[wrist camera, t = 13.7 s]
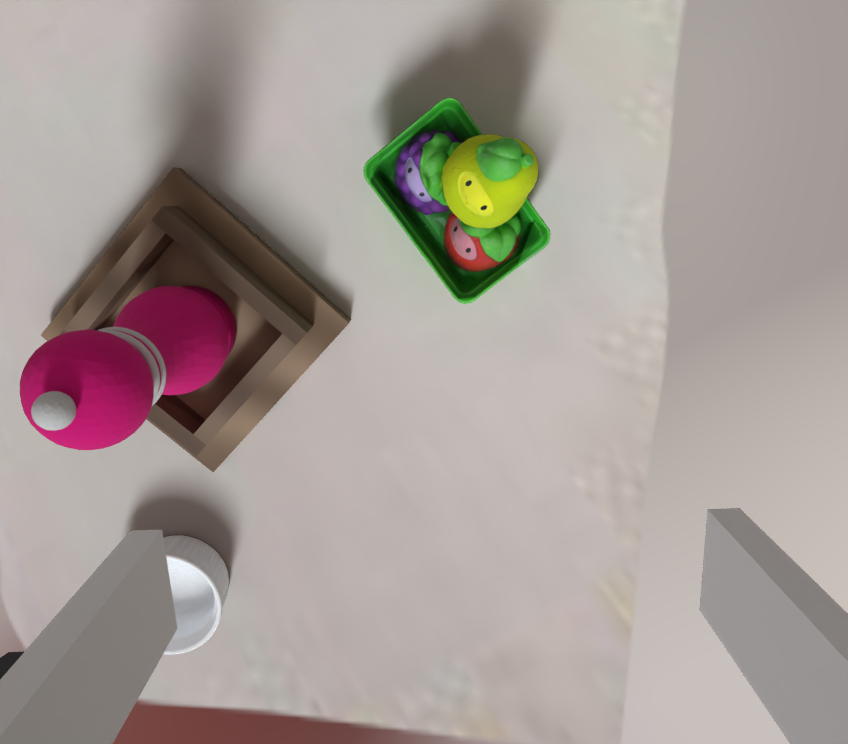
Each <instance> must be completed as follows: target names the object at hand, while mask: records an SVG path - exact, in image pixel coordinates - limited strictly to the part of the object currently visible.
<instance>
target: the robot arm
mask: <svg viewBox="0 0 848 744" xmlns="http://www.w3.org/2000/svg"><path fill="white" fill-rule="evenodd" d="M700 611H701V612H702V614H703V615H704V617H705V618H706V620H707V621H708V623H709V624H710V626H711V627H712V629H713V630H714V632H715V633H716V635H717V636H718V638H719V639H720V641H721V642H722V643H723V645H724V646H725V648H726V649H727V651H728V652H729V654H730V655H731V657H732V658H733V660H734V661H735V663H736V664H737V666H738V667H739V669H740V670H741V672H742V673H743V675H744V676H745V677H746V679H747V681H748V682H749V684H750V685H751V686H752V688H753V689H754V691H755V692H756V694H757V695H758V697H759V698H760V700H761V701H762V703H763V704H764V706H765V707H766V709H767V710H768V712H769V713H770V715H771V716H772V718H773V719H774V721H775V722H776V723H777V725H778V726H779V728H780V729H781V731H782V732H783V734H784V735H785V737H786V738H787V740H788V741H789V743H790V744H848V613H847V612H846V611H844V610H843V609H842V608H841V607H840V606H839V605H838V604H837V603H836V602H835V601H834V600H833V599H832V598H831V597H830V596H829V595H828V594H827V593H826V592H825V591H824V590H823V589H822V588H821V587H820V586H819V585H818V584H817V583H816V582H815V581H814V580H813V579H812V578H811V577H810V576H809V575H808V574H807V573H806V572H805V571H803V570H802V569H801V568H800V567H799V566H798V565H797V564H796V563H795V562H794V561H793V560H792V559H791V558H790V557H789V556H788V555H787V554H786V553H785V552H784V551H783V550H782V549H781V548H780V547H779V546H778V545H777V544H776V543H775V542H774V541H773V540H772V539H771V538H770V537H768V536H767V535H766V533H765V532H764V531H762V530H761V529H760V528H759V527H758V526H757V525H756V524H755V523H754V522H753V521H752V520H751V519H750V518H749V517H748V516H747V515H746V514H745V513H744V512H743V511H742V510H741V509H740V508H734V509H733V508H731V509H708V511H707V523H706V536H705V548H704V561H703V574H702V587H701V598H700ZM176 630H177V622H176V616H175V610H174V603H173V597H172V590H171V584H170V578H169V571H168V565H167V558H166V552H165V546H164V539H163V533H162V530H135V531H130V532H129V533H128V534H127V535H126V536H125V537H124V538H123V540H122V541H121V542H120V543H119V544H118V545H117V546H116V548H115V549H114V550H113V551H112V552H111V553H110V555H109V556H108V557H107V558H106V559H105V560H104V561H103V563H102V564H101V565H100V566H99V567H98V568H97V569H96V571H95V572H94V573H93V574H92V575H91V576H90V577H89V579H88V580H87V581H86V582H85V583H84V584H83V585H82V587H81V588H80V589H79V590H78V591H77V592H76V593H75V595H74V596H73V597H72V598H71V599H70V600H69V601H68V603H67V604H66V605H65V606H64V607H63V608H62V610H61V611H60V612H59V613H58V614H57V615H56V616H55V618H54V619H53V620H52V621H51V622H50V623H49V624H48V626H47V627H46V628H45V629H44V630H43V631H42V632H41V634H40V635H39V636H38V637H37V638H36V639H35V640H34V642H33V643H32V644H31V645H30V646H29V647H28V648H27V650H26V651H25V652H8V653H7V654H5V655H4V656H2V657H1V658H0V744H112V743H113V742H114V740H115V738H116V736H117V735H118V732H119V731H120V729H121V727H122V726H123V724H124V722H125V720H126V719H127V717H128V715H129V713H130V711H131V710H132V708H133V706H134V704H135V703H136V701H137V699H138V697H139V696H140V694H141V692H142V690H143V689H144V687H145V685H146V683H147V681H148V680H149V678H150V676H151V674H152V673H153V671H154V669H155V667H156V666H157V664H158V662H159V660H160V658H161V657H162V655H163V653H164V651H165V650H166V648H167V646H168V644H169V643H170V641H171V639H172V637H173V635H174V634H175V632H176Z"/></svg>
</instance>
